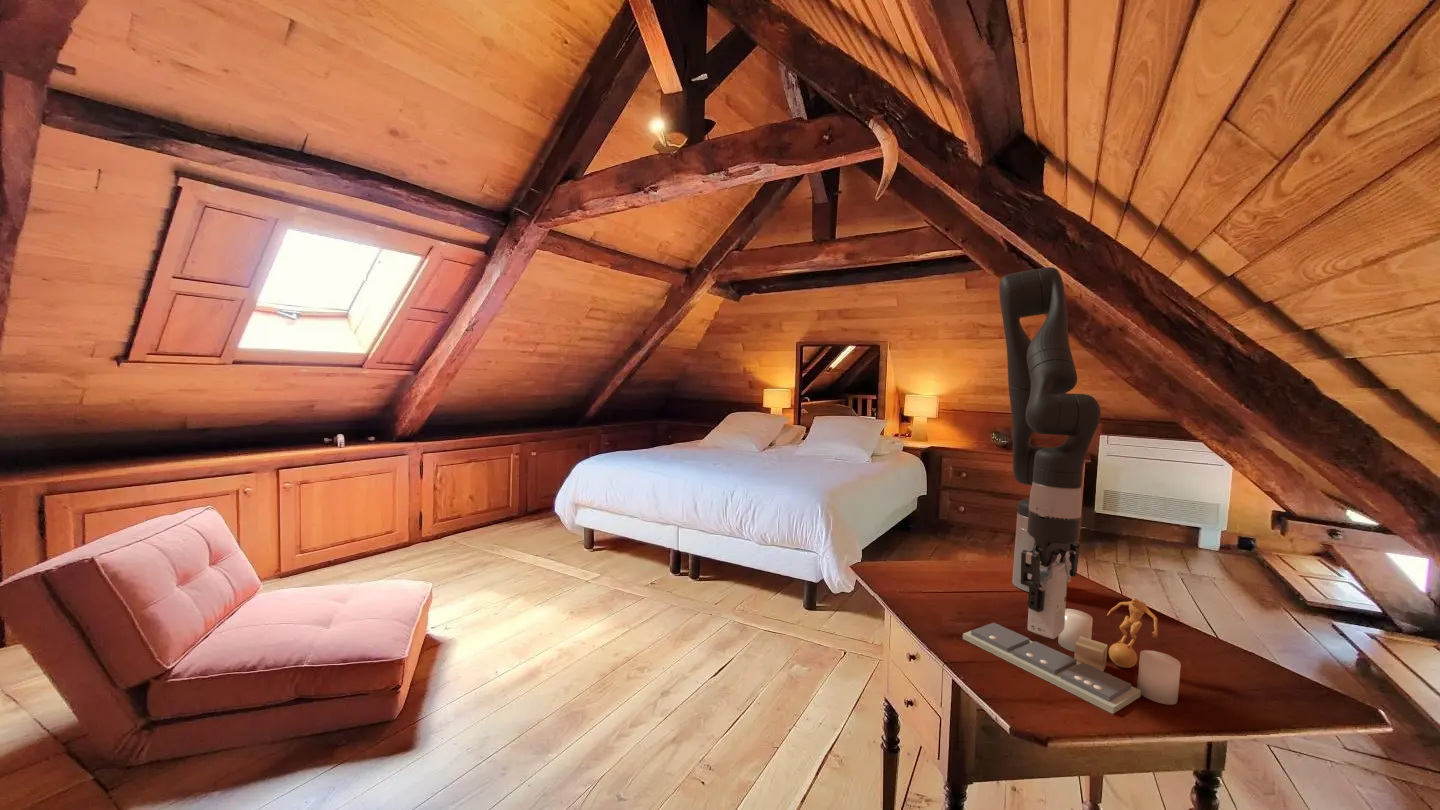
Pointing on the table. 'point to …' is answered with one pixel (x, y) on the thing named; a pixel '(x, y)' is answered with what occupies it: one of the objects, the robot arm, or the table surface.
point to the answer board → (1055, 667)
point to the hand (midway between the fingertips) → (1047, 605)
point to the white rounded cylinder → (1075, 628)
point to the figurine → (1123, 652)
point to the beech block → (1091, 653)
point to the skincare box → (1051, 605)
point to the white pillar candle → (1159, 677)
